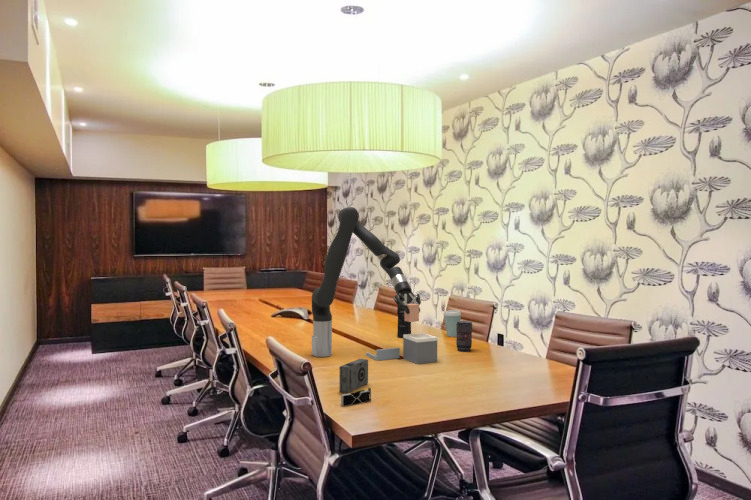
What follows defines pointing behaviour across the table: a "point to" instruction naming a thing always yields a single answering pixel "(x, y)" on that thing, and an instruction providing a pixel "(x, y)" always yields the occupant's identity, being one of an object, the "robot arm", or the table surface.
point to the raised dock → (420, 348)
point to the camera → (353, 375)
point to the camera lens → (464, 336)
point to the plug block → (412, 313)
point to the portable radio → (402, 323)
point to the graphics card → (356, 397)
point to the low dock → (385, 354)
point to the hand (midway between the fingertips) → (413, 312)
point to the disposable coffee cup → (451, 321)
